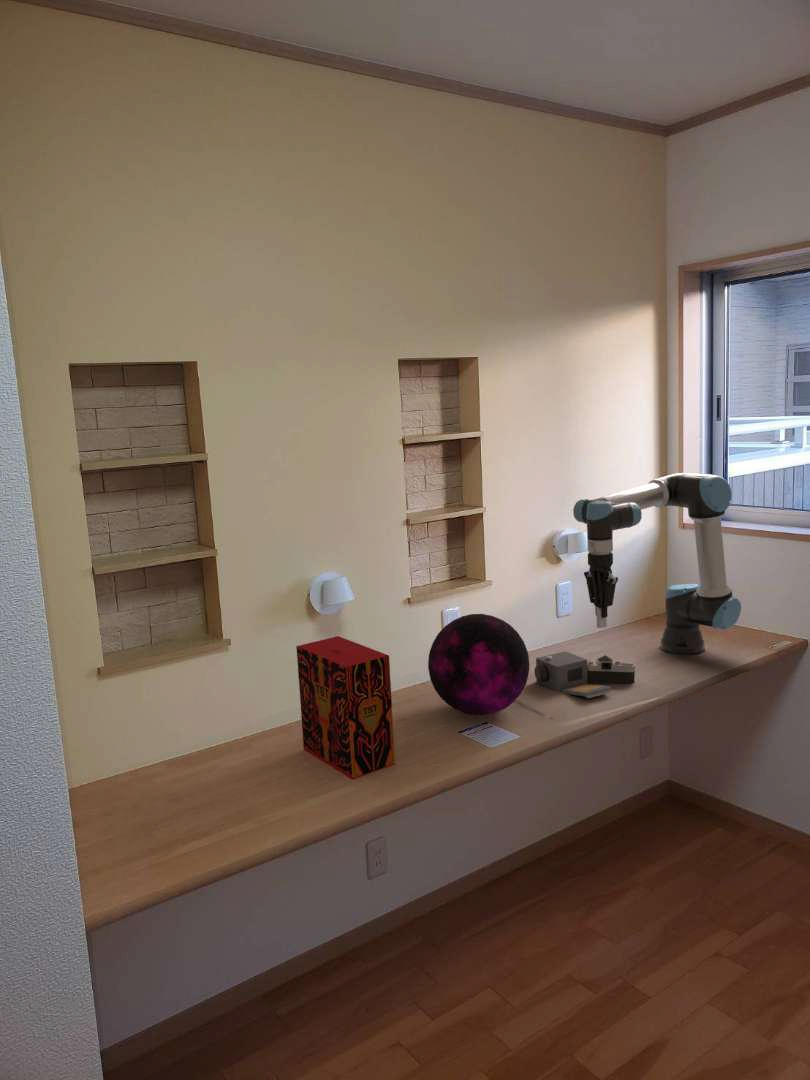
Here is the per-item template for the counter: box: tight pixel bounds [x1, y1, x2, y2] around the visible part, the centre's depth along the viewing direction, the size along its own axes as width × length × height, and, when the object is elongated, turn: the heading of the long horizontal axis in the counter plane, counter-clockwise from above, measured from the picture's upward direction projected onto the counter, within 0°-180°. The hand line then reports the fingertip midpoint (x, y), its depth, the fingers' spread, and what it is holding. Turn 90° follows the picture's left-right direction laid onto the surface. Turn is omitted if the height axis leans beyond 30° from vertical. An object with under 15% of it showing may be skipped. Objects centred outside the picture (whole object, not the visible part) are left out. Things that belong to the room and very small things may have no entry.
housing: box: [534, 651, 588, 692], centre depth 284 cm, size 14×11×10 cm
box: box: [295, 635, 396, 780], centre depth 236 cm, size 25×13×30 cm, turn 36°
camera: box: [587, 654, 636, 685], centre depth 285 cm, size 16×9×10 cm, turn 83°
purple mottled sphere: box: [427, 613, 530, 716], centre depth 264 cm, size 30×30×30 cm
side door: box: [560, 683, 613, 699], centre depth 275 cm, size 10×2×13 cm
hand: (601, 626), depth 273 cm, fingers closed
